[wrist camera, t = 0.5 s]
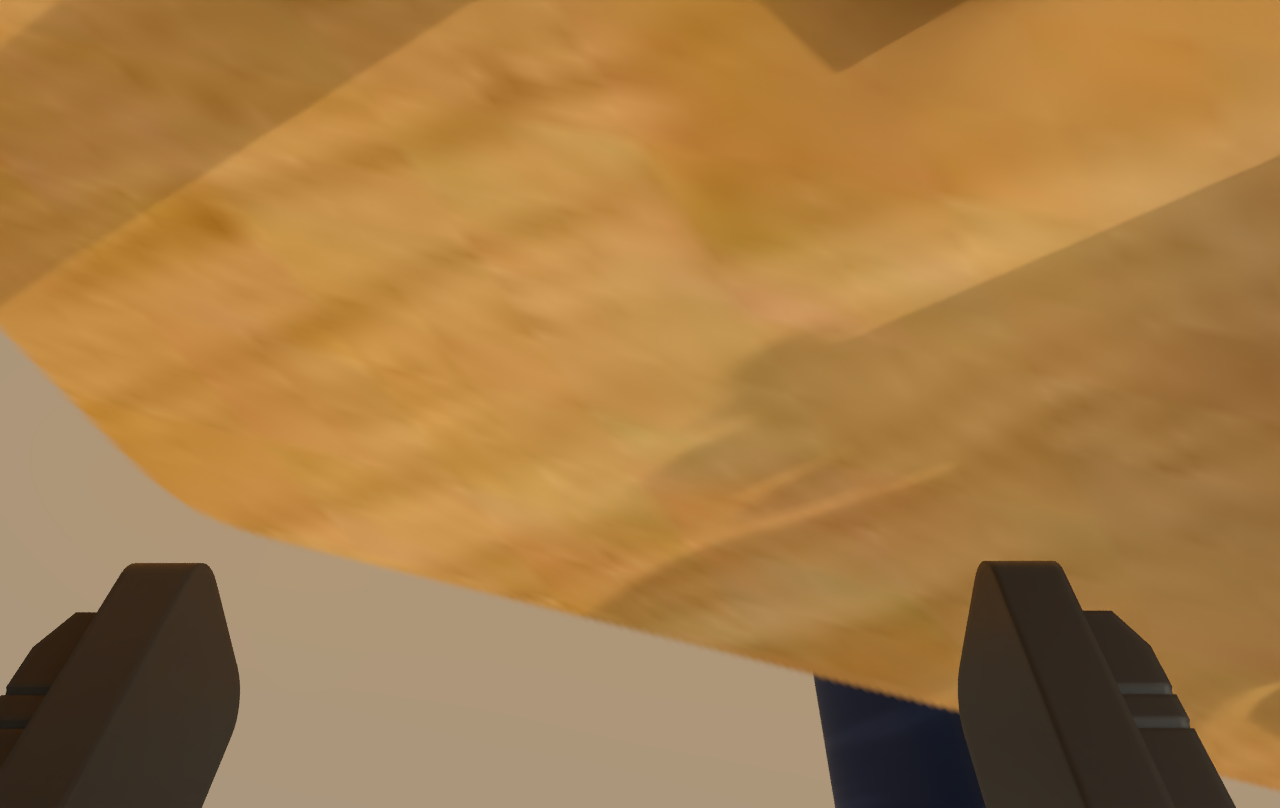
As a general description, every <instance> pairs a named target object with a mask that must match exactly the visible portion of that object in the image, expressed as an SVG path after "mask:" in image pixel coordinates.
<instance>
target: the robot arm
mask: <svg viewBox="0 0 1280 808" xmlns="http://www.w3.org/2000/svg"><path fill="white" fill-rule="evenodd" d="M6 689H7V691H6V695H1V696H0V808H202V805H203V803H204V801H205V798H206V796H207V794H208V791H209V789H210V786H211V784H212V781H213V779H214V777H215V774H216V772H217V770H218V767H219V765H220V762H221V760H222V758H223V755H224V752H225V750H226V748H227V745H228V743H229V741H230V738H231V736H232V733H233V730H234V727H235V723H236V720H237V715H238V708H239V699H240V680H239V673H238V668H237V664H236V660H235V656H234V652H233V647H232V643H231V639H230V636H229V631H228V627H227V623H226V619H225V616H224V612H223V608H222V603H221V599H220V595H219V591H218V587H217V583H216V580H215V576H214V574H213V572H212V570H211V569H210V567H209V566H208V565H207V564H204V563H135V564H131V565H129V566H127V567H126V568H125V569H124V570H123V572H122V573H121V575H120V576H119V578H118V579H117V581H116V583H115V584H114V586H113V587H112V589H111V591H110V592H109V594H108V595H107V597H106V599H105V600H104V602H103V604H102V605H101V607H100V608H99V610H98V612H97V613H91V612H88V613H85V612H82V613H80V612H78V613H75V614H74V615H72V616H71V617H70V618H69V619H67V620H66V621H65V622H64V623H62V624H61V625H60V626H59V627H57V628H56V629H55V630H54V631H52V632H51V633H50V634H49V635H47V636H46V637H45V638H44V639H43V640H41V641H40V642H39V643H38V644H36V645H35V646H34V647H33V648H32V649H31V651H30V652H29V654H28V655H27V657H26V658H25V660H24V661H23V663H22V664H21V666H20V667H19V669H18V670H17V672H16V673H15V675H14V676H13V678H12V679H11V681H10V683H9V684H8V685H7V687H6ZM958 701H959V712H960V718H961V724H962V728H963V732H964V736H965V739H966V742H967V746H968V749H969V752H970V756H971V759H972V762H973V766H974V769H975V772H976V776H977V779H978V782H979V786H980V789H981V792H982V796H983V799H984V802H985V806H986V808H1236V807H1235V805H1234V803H1233V801H1232V799H1231V797H1230V795H1229V794H1228V792H1227V790H1226V788H1225V786H1224V784H1223V782H1222V780H1221V778H1220V776H1219V775H1218V773H1217V771H1216V769H1215V767H1214V765H1213V763H1212V761H1211V759H1210V757H1209V756H1208V754H1207V752H1206V750H1205V748H1204V746H1203V744H1202V742H1201V740H1200V739H1199V737H1198V735H1197V733H1196V731H1195V729H1194V728H1190V725H1189V721H1190V720H1189V718H1188V716H1187V714H1186V712H1185V710H1184V708H1183V706H1182V704H1181V703H1180V701H1179V699H1178V697H1177V695H1173V694H1172V686H1171V684H1170V682H1169V680H1168V678H1167V676H1166V674H1165V672H1164V670H1163V668H1162V667H1161V665H1160V663H1159V661H1158V659H1157V657H1156V655H1155V653H1154V651H1153V650H1152V648H1151V646H1150V645H1149V644H1148V643H1147V642H1146V641H1145V640H1143V639H1142V638H1141V637H1140V636H1139V635H1138V634H1137V633H1136V632H1135V631H1133V630H1132V629H1131V628H1130V627H1129V626H1128V625H1127V624H1126V623H1125V622H1123V621H1122V620H1121V619H1120V618H1119V617H1118V616H1117V615H1116V614H1115V613H1113V612H1112V611H1082V609H1081V606H1080V604H1079V602H1078V600H1077V598H1076V596H1075V594H1074V592H1073V590H1072V587H1071V585H1070V583H1069V581H1068V579H1067V577H1066V575H1065V573H1064V571H1063V569H1062V567H1061V566H1060V565H1059V564H1058V563H1057V562H1056V561H983V562H981V564H980V565H979V567H978V569H977V572H976V576H975V581H974V587H973V593H972V598H971V604H970V610H969V616H968V621H967V627H966V633H965V639H964V644H963V650H962V656H961V661H960V667H959V676H958Z"/></svg>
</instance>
